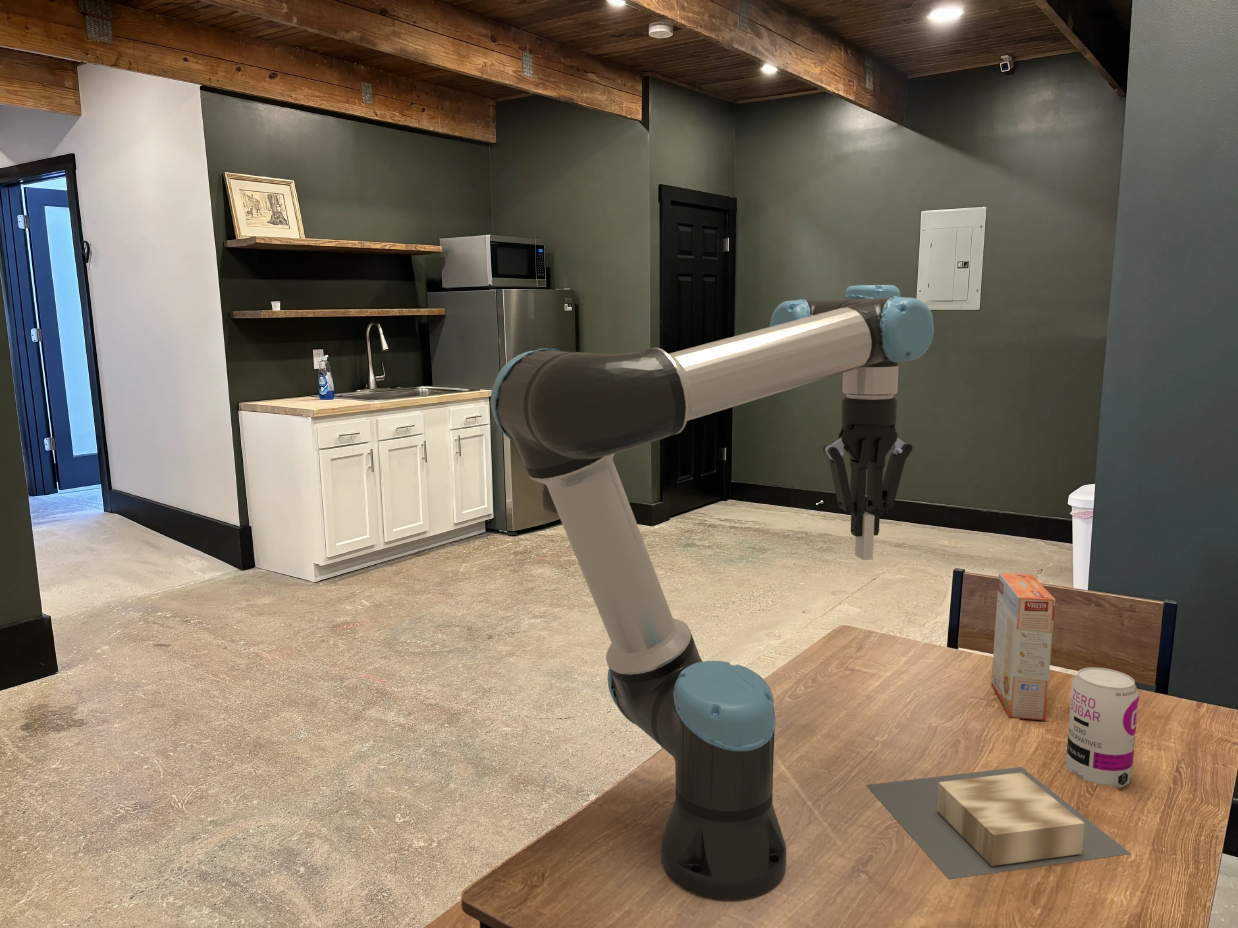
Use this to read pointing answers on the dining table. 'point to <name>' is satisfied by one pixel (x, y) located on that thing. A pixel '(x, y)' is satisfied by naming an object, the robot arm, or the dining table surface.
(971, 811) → the wooden block
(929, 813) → the mat
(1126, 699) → the supplement can
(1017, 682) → the cracker box
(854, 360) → the robot arm
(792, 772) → the dining table surface
